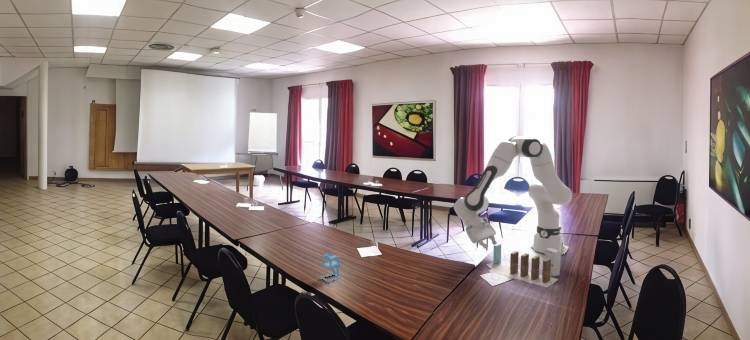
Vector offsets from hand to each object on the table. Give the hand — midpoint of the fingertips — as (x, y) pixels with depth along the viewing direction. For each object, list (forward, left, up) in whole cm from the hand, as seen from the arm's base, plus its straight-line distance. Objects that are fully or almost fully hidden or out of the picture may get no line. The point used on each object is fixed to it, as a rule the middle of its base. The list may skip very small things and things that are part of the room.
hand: (491, 246), depth 194 cm
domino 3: (+8, +22, -8) cm, 24 cm away
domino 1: (0, +4, -9) cm, 9 cm away
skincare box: (-4, +30, -9) cm, 31 cm away
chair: (+74, -41, -9) cm, 85 cm away
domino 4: (+8, +27, -8) cm, 29 cm away
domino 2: (+8, +17, -8) cm, 20 cm away
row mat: (+8, +21, -9) cm, 24 cm away
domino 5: (+8, +32, -8) cm, 34 cm away
